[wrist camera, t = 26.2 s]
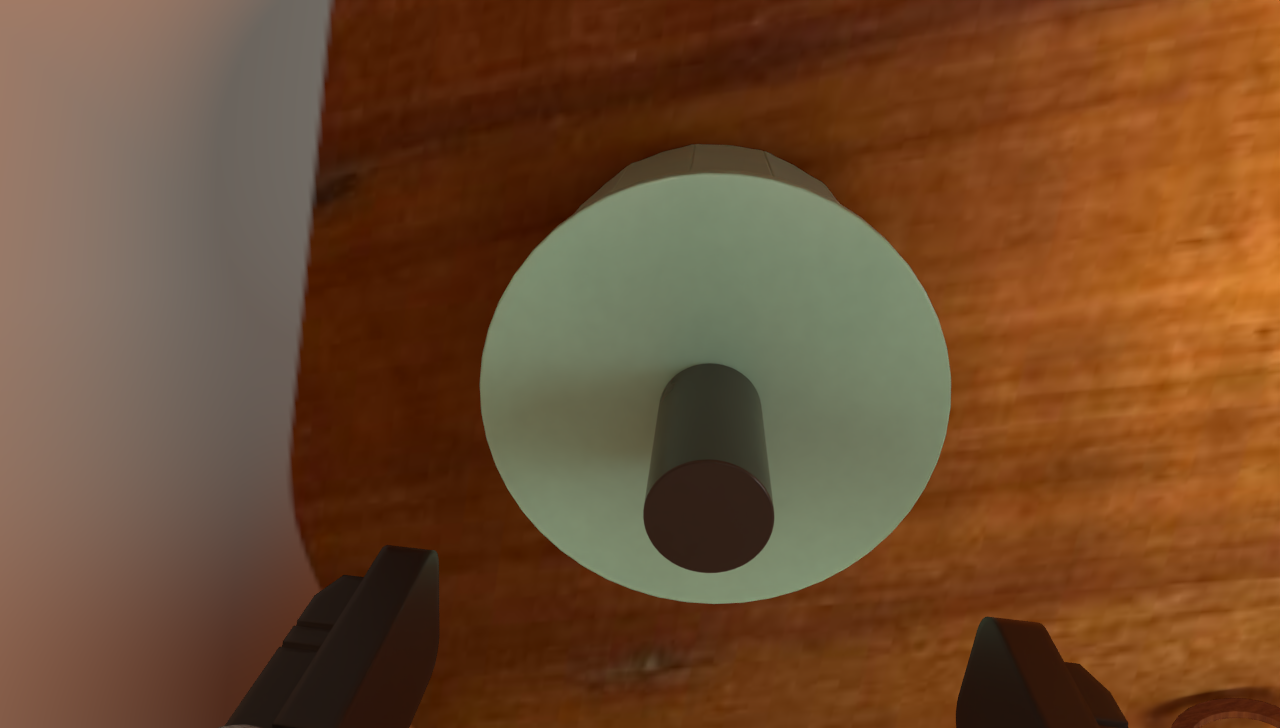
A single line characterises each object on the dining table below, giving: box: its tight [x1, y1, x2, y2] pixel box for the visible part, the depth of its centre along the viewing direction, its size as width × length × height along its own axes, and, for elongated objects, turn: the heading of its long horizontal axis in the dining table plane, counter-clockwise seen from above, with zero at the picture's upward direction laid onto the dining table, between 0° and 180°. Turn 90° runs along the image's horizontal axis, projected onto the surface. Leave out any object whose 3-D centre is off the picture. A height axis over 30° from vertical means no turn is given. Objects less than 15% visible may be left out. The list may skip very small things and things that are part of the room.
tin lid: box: [480, 170, 951, 604], centre depth 18 cm, size 11×11×6 cm
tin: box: [575, 144, 840, 213], centre depth 24 cm, size 10×10×7 cm
